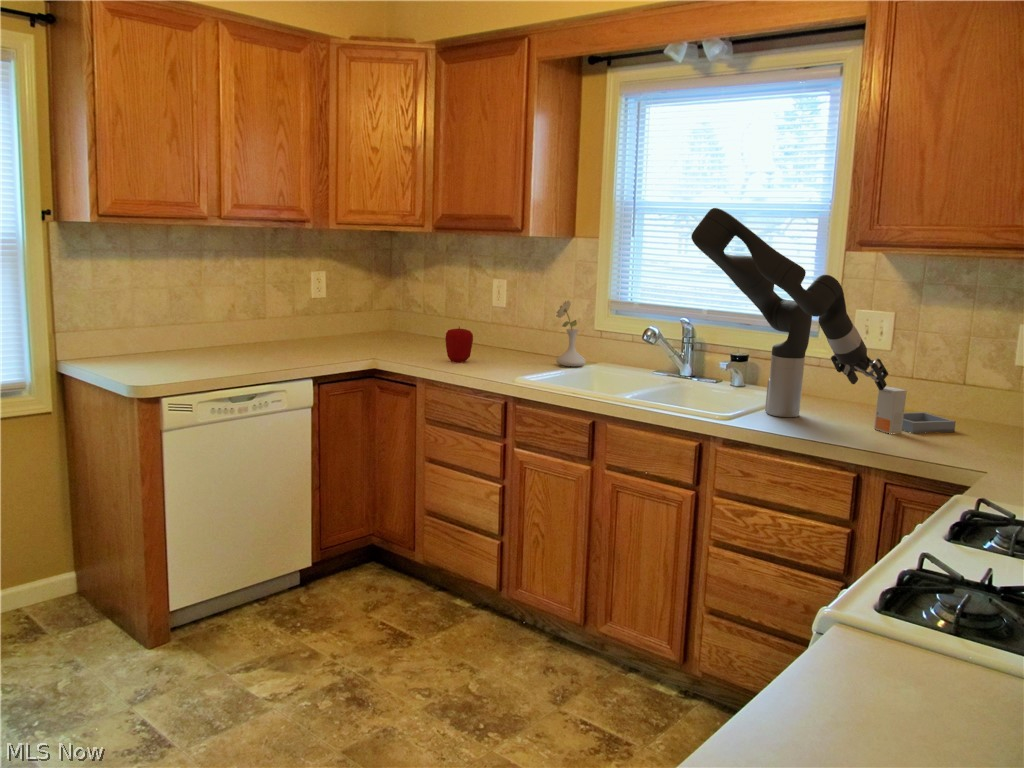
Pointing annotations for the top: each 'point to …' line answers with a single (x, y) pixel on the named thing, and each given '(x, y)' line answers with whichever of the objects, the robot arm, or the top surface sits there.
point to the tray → (926, 423)
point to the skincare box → (890, 410)
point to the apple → (458, 344)
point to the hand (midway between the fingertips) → (869, 384)
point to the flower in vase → (571, 354)
